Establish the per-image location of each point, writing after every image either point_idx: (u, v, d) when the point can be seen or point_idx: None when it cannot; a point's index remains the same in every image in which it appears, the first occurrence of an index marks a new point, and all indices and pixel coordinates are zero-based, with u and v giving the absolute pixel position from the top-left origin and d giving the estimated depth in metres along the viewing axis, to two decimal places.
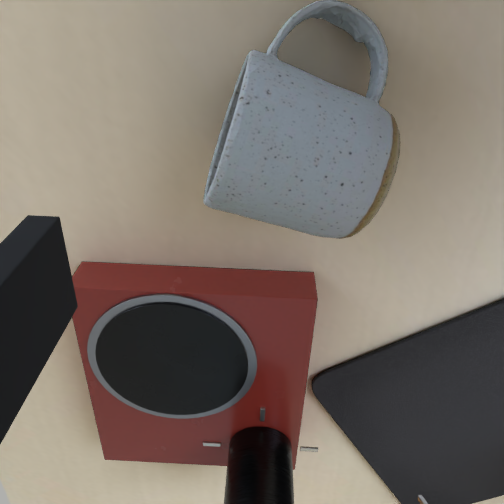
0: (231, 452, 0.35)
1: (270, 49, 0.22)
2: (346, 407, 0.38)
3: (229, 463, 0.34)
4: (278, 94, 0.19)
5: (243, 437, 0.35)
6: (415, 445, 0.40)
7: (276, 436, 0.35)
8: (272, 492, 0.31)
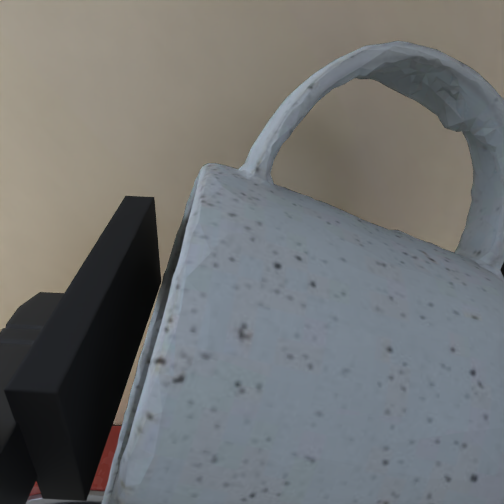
0: None
1: (254, 162, 0.09)
2: None
3: None
4: (275, 332, 0.07)
5: None
6: None
7: None
8: None
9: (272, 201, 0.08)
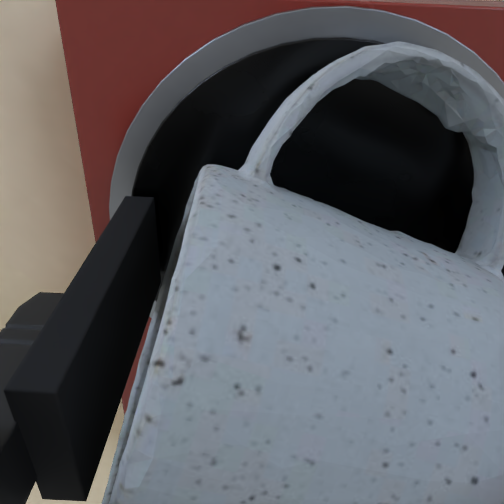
0: None
1: (254, 163, 0.09)
2: None
3: None
4: (273, 335, 0.07)
5: None
6: None
7: None
8: None
9: (272, 202, 0.08)
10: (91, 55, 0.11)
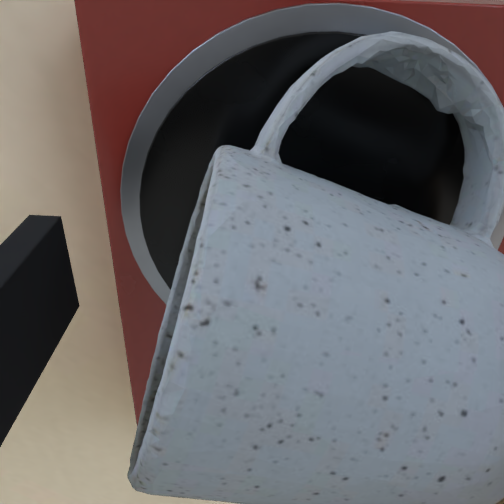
0: None
1: (264, 143, 0.10)
2: None
3: None
4: (286, 284, 0.08)
5: None
6: None
7: None
8: None
9: (281, 176, 0.09)
10: (106, 48, 0.12)
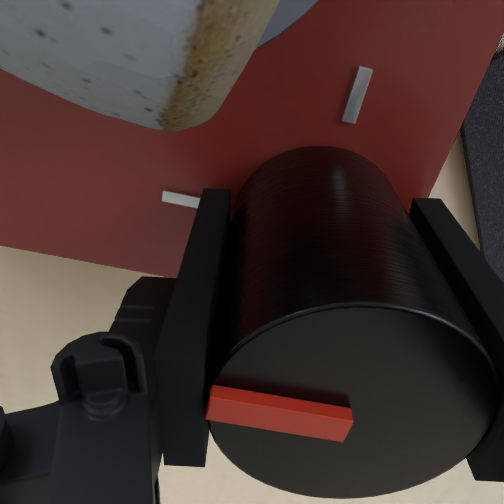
0: (247, 198, 0.12)
1: None
2: None
3: (242, 217, 0.11)
4: None
5: (289, 160, 0.12)
6: None
7: (380, 173, 0.12)
8: (418, 257, 0.08)
9: None
10: None
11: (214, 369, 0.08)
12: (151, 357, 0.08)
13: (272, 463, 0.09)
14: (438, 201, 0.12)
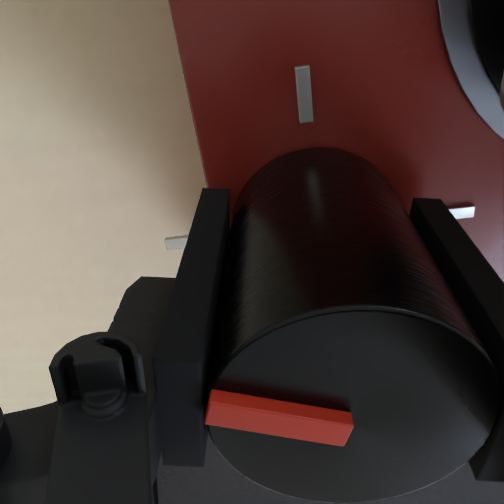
0: (247, 200, 0.12)
1: None
2: None
3: (241, 219, 0.11)
4: None
5: (288, 162, 0.12)
6: None
7: (380, 174, 0.12)
8: (419, 259, 0.08)
9: None
10: None
11: (213, 373, 0.07)
12: (150, 357, 0.08)
13: (272, 467, 0.09)
14: (439, 201, 0.12)
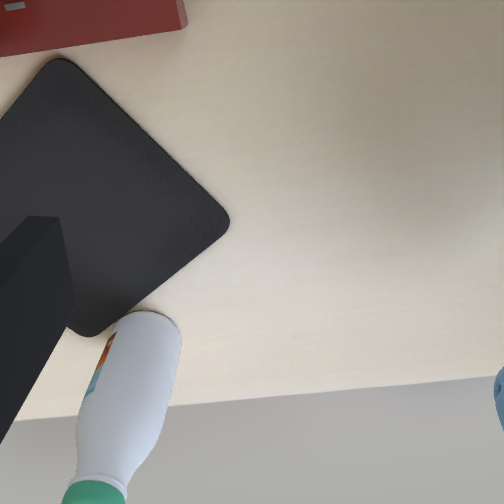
0: None
1: None
2: (42, 102, 0.38)
3: None
4: None
5: None
6: (23, 183, 0.41)
7: None
8: None
9: None
10: None
11: None
12: None
13: None
14: None
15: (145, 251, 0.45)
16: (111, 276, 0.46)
